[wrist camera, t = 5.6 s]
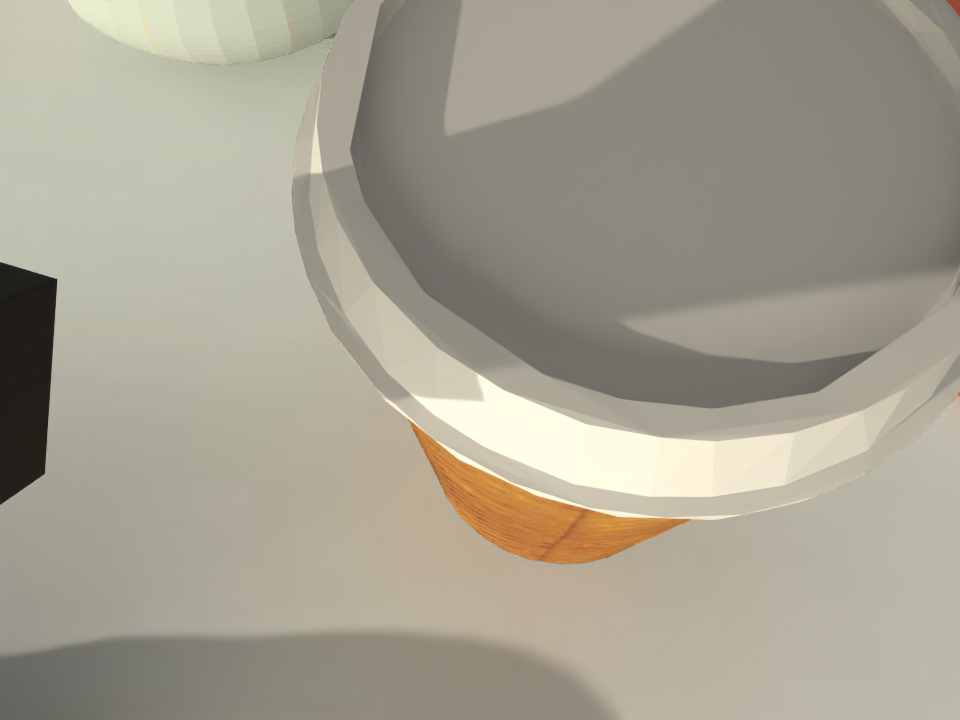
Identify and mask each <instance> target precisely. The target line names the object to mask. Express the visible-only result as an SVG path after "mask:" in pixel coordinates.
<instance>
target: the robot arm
mask: <svg viewBox="0 0 960 720" xmlns="http://www.w3.org/2000/svg"><path fill="white" fill-rule="evenodd" d="M56 292H57V279H55V278H51V277H48V276H45V275H41V274H38V273H35V272H31V271H28V270H25V269H21V268H18V267H15V266H11V265H8V264H5V263H1V262H0V505H1V504H2V503H4V502H5V501H6V500H8V499H9V498H11V497H12V496H14V495H15V494H17V493H18V492H19V491H21V490H22V489H24V488H25V487H27V486H28V485H29V484H31V483H32V482H34V481H35V480H37V479H38V478H40V477H41V476H42V475H44V474H45V461H46V446H47V430H48V415H49V400H50V384H51V369H52V353H53V338H54V322H55V307H56Z"/></svg>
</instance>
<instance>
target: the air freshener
mask: <svg viewBox="0 0 960 720" xmlns="http://www.w3.org/2000/svg"><path fill="white" fill-rule="evenodd" d="M68 1H69V3H70V5H71V7H72V8H73V10H74V11H75V13H76V14H77V15H78V16H79V17H80V18H81V19H83V20H84V21H86V22H87V23H89V24H90V25H92V26H93V27H95V28H96V29H97V30H99V31H100V32H102V33H103V34H105V35H107V36H109V37H111V38H113V39H115V40H117V41H119V42H122V43H124V44H126V45H128V46H130V47H133V48H135V49H137V50H140V51H143V52H146V53H150V54H153V55H157V56H160V57H164V58H167V59H172V60H178V61H185V62H192V63H199V64H239V63H247V62H256V61H263V60H267V59H271V58H275V57H279V56H283V55H287V54H291V53H293V52H296V51H298V50H301V49H304V48H306V47H309V46H311V45H314V44H316V43H318V42H320V41H322V40H324V39H325V38H327V37H329V36H331V35H333V34H334V33H336V32H337V30H338V28H339V25H340V23H341V20H342V17H343V15H344V13H345V11H346V10H347V9H348V7H349V6H350V5H351V3H352V2H353V1H354V0H68Z"/></svg>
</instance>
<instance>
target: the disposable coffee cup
mask: <svg viewBox="0 0 960 720" xmlns="http://www.w3.org/2000/svg"><path fill="white" fill-rule="evenodd" d="M292 202H293V212H294V223H295V233H296V237H297V240H298V244H299V248H300V251H301V255H302V258H303V262H304V266H305V269H306V273H307V276H308V279H309V281H310V283H311V285H312V287H313V290H314V292H315V294H316V296H317V298H318V301H319V303H320V305H321V307H322V310H323V312H324V314H325V316H326V318H327V321H328V323H329V325H330V327H331V329H332V331H333V333H334V335H335V336H336V338H337V339H338V341H339V343H340V344H341V346H342V347H343V348H344V350H345V351H346V352H347V353H348V355H349V356H350V357H351V358H352V360H353V361H354V362H355V363H356V365H357V366H358V367H359V368H360V370H361V371H362V372H363V373H364V375H365V376H366V377H367V378H368V380H369V381H370V382H371V383H372V384H373V386H374V387H375V388H376V389H377V391H378V392H379V393H380V394H381V396H382V397H383V398H384V399H385V401H387V402H388V403H389V404H390V405H392V406H393V407H394V408H395V409H397V410H398V411H399V412H400V413H402V414H403V415H404V416H405V417H407V418H408V420H409V422H410V423H411V425H412V428H413V430H414V432H415V434H416V436H417V438H418V440H419V442H420V444H421V446H422V448H423V449H424V451H425V454H426V456H427V458H428V459H429V461H430V463H431V465H432V467H433V469H434V471H435V473H436V475H437V477H438V479H439V482H440V484H441V486H442V488H443V490H444V493H445V495H446V497H447V498H448V500H449V501H450V502H451V504H452V505H453V507H454V508H455V509H456V511H457V512H458V513H459V515H460V516H461V518H462V519H464V520H465V521H466V522H467V523H468V524H469V525H470V526H471V527H473V528H474V529H475V530H476V531H477V532H478V533H479V534H481V535H482V536H483V537H484V538H485V539H487V540H489V541H490V542H492V543H493V544H495V545H497V546H498V547H500V548H502V549H503V550H505V551H508V552H511V553H513V554H516V555H519V556H521V557H524V558H527V559H529V560H537V561H544V562H551V563H558V564H572V563H586V562H590V561H594V560H598V559H602V558H607V557H610V556H612V555H614V554H616V553H618V552H621V551H623V550H625V549H627V548H629V547H631V546H633V545H635V544H637V543H640V542H642V541H644V540H646V539H649V538H651V537H654V536H657V535H659V534H661V533H663V532H665V531H667V530H669V529H671V528H673V527H675V526H677V525H680V524H683V523H685V522H688V521H690V520H692V519H709V520H717V519H723V518H728V517H734V516H739V515H745V514H749V513H754V512H759V511H763V510H768V509H772V508H777V507H781V506H786V505H790V504H795V503H798V502H801V501H804V500H807V499H810V498H813V497H816V496H818V495H821V494H823V493H825V492H827V491H829V490H832V489H834V488H836V487H838V486H840V485H842V484H845V483H847V482H849V481H851V480H853V479H855V478H857V477H859V476H861V475H863V474H866V473H868V472H870V471H871V470H873V469H874V468H875V467H877V466H878V465H880V464H881V463H883V462H884V461H885V460H887V459H888V458H890V457H891V456H892V455H894V454H895V453H897V452H898V451H900V450H901V449H902V448H904V447H905V446H907V445H908V444H909V443H911V442H912V441H914V440H915V439H917V438H918V437H919V436H921V435H922V434H923V432H924V431H925V430H926V429H927V428H928V427H929V426H930V425H931V424H932V423H933V422H934V420H935V419H936V418H937V417H938V416H939V415H940V414H941V413H942V412H943V411H944V410H945V409H946V407H947V406H948V405H949V404H950V403H951V402H952V401H953V400H954V398H955V397H956V395H957V394H958V392H959V391H960V17H959V16H958V14H957V13H956V11H955V10H954V9H953V7H952V6H951V5H950V4H949V3H948V2H947V1H946V0H354V1H353V2H352V3H351V5H350V6H349V7H348V9H347V10H346V11H345V13H344V15H343V17H342V20H341V23H340V25H339V28H338V30H337V33H336V36H335V38H334V41H333V43H332V46H331V49H330V51H329V54H328V56H327V59H326V62H325V64H324V67H323V71H322V73H321V75H320V77H319V79H318V81H317V83H316V85H315V87H314V89H313V91H312V92H311V94H310V97H309V100H308V103H307V106H306V110H305V113H304V116H303V119H302V123H301V126H300V129H299V132H298V136H297V139H296V149H295V161H294V172H293V184H292Z"/></svg>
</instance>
